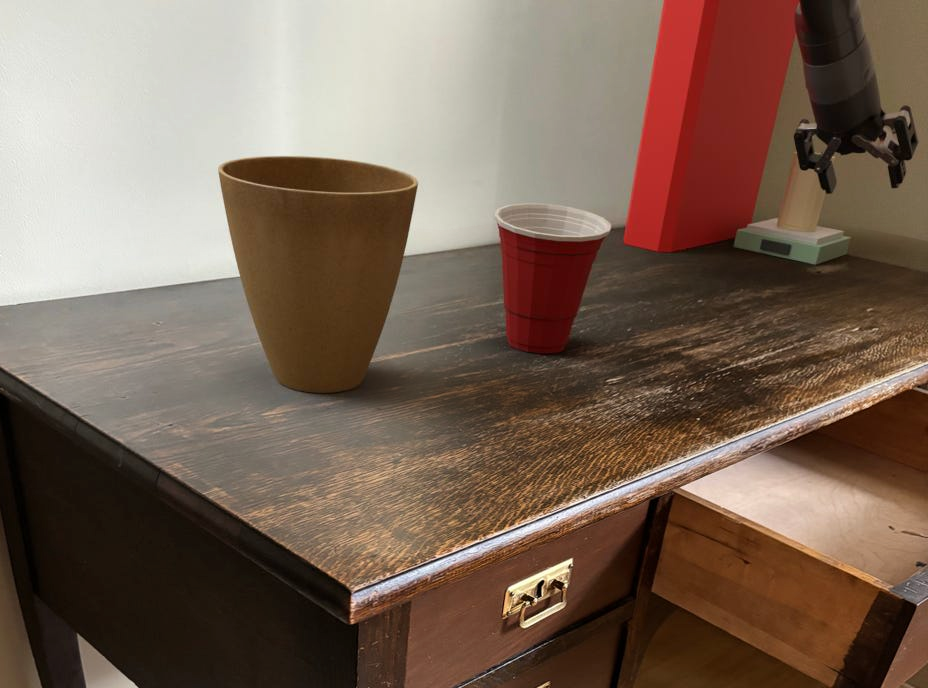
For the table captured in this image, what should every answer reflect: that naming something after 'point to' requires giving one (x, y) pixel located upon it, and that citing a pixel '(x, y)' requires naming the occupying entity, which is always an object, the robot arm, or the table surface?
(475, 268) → the table surface
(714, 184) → the book
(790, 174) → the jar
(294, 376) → the plant pot
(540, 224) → the plastic cup
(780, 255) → the scale
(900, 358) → the table surface
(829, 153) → the robot arm
